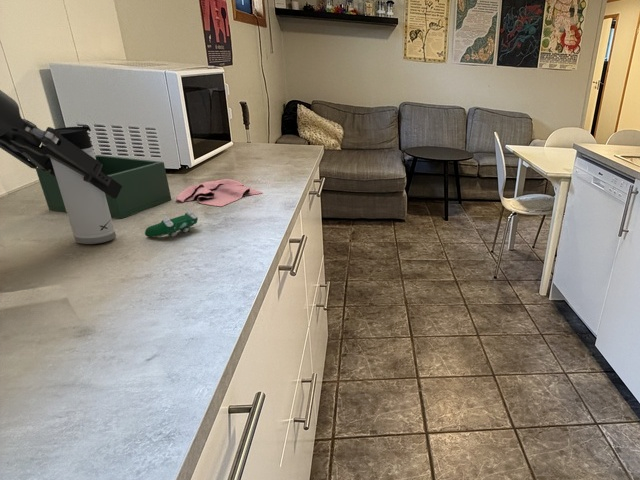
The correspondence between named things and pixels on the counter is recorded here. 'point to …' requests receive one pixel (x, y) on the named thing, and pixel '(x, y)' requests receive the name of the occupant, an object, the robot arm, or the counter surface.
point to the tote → (133, 174)
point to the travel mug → (83, 195)
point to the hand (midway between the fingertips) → (101, 189)
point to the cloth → (216, 192)
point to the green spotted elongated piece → (172, 225)
